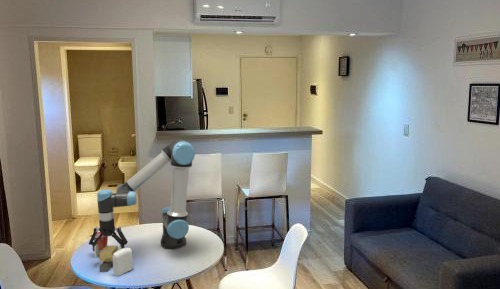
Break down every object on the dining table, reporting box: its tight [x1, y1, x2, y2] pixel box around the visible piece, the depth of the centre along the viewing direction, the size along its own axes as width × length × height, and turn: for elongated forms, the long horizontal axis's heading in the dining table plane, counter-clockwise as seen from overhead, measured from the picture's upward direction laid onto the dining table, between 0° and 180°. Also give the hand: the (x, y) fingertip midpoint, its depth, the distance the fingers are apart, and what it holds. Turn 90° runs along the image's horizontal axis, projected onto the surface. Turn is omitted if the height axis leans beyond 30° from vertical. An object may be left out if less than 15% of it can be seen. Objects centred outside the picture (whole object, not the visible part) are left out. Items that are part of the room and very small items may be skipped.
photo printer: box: [112, 247, 134, 277], centre depth 210 cm, size 10×4×12 cm, turn 140°
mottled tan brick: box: [99, 245, 119, 263], centre depth 219 cm, size 6×9×8 cm
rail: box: [98, 262, 113, 273], centre depth 220 cm, size 18×4×3 cm, turn 178°
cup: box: [89, 231, 109, 257], centre depth 230 cm, size 9×8×12 cm
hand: (109, 256), depth 219 cm, fingers open, 13 cm apart
